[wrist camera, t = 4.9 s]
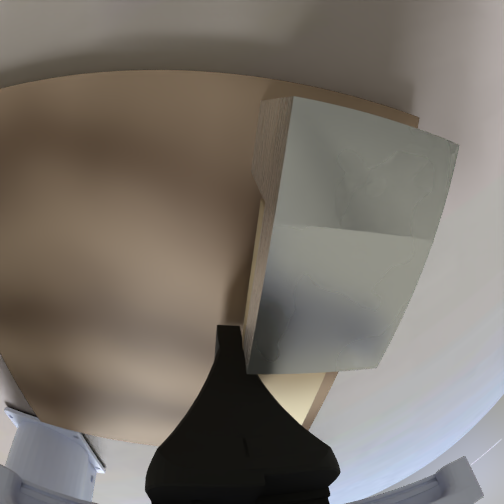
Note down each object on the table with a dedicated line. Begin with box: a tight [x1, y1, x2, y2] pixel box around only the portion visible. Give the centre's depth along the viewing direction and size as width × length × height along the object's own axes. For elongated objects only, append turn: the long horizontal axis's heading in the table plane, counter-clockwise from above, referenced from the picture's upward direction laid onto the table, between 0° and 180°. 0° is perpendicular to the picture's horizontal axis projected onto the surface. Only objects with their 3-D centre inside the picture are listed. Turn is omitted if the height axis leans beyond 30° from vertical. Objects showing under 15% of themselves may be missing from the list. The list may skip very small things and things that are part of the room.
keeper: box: [243, 96, 459, 374], centre depth 9 cm, size 7×4×5 cm, turn 173°
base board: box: [0, 70, 419, 446], centre depth 13 cm, size 22×20×1 cm
